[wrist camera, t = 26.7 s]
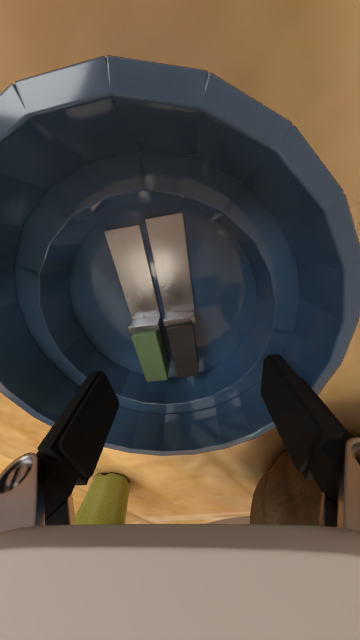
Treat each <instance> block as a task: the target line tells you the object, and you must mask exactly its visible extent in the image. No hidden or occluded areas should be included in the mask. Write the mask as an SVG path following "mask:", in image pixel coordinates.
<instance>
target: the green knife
mask: <svg viewBox="0 0 360 640" xmlns="http://www.w3.org/2000/svg"><path fill="white" fill-rule="evenodd" d="M104 233H105V236H106V239H107V242H108V245H109V249H110V252H111V255H112V258H113V261H114V264H115V267H116V270H117V273H118V277H119V280H120V283H121V286H122V289H123V292H124V295H125V298H126V302H127V305H128V308H129V311H130V314H131V317H132V322H131V323H130V325H129V326H128V330H129V333H133V334H132V335H131V338H132V341H133V343H134V346H135V349H136V352H137V355H138V358H139V361H140V364H141V367H142V370H143V373H144V376H145V379H146V381H147V382H150V381H161V380H168V374H169V365H170V364H169V360H168V356H167V352H166V347H165V343H164V339H163V335H162V330H161V326H160V325H161V322H162V319H161V314H160V310H159V305H158V301H157V296H156V292H155V288H154V283H153V279H152V274H151V270H150V266H149V261H148V257H147V252H146V248H145V244H144V239H143V235H142V230H141V226H140V225H135V226H129V227H124V228H118V229H113V230H107V231H104Z"/></svg>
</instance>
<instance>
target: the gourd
mask: <svg viewBox="0 0 360 640" xmlns="http://www.w3.org/2000/svg"><path fill="white" fill-rule="evenodd" d="M321 497H322V492H321V491H320V489H319V487H318V485H317V483H316V481H315V480H314V479H307V480H305V478H304V476H303V474H302V472H301V471H298V470H297V469H296V467H295V466H294V464H293V461H292V459H291V457H290V455H289V453H288V451H285V452H283V453H282V454H281V455H280V456H279V457H278V458H277V460H276V462H275V464H274V466H272V467H271V468H270V469H269V470H268V471H267V472H266V473H265V474H264V475H263V477H262V478H261V479H260V481H259V483H258V485H257V487H256V489H255V491H254V494H253V500H252V507H251V513H250V524H261V525H308V526H318V525H319V516H320V506H321Z"/></svg>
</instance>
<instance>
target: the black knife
mask: <svg viewBox="0 0 360 640" xmlns="http://www.w3.org/2000/svg"><path fill="white" fill-rule="evenodd" d="M145 222H146V226H147V231H148V236H149V241H150V245H151V250H152V255H153V260H154V264H155V269H156V274H157V278H158V283H159V288H160V293H161V297H162V302H163V307H164V312H165V315H164V319H163V322H164V326H167V333H168V338H169V342H170V347H171V352H172V356H173V361H174V366H175V370H176V375H177V377H187V376H198V375H199V365H198V356H197V348H196V340H195V333H194V325H193V323H195V322H196V319H195V311H194V303H193V294H192V286H191V277H190V269H189V260H188V252H187V244H186V235H185V227H184V218H183V212H182V213H176V214H171V215H165V216H160V217H154V218H149V219H145Z"/></svg>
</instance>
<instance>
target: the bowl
mask: <svg viewBox="0 0 360 640" xmlns="http://www.w3.org/2000/svg"><path fill="white" fill-rule="evenodd" d="M343 192H344V191H343V189H342V188H341V187H340V185H339V184H338V183H337V181H336V180H335V179H334V177H333V176H332V175H331V173H330V172H329V171H328V169H327V168H326V166H325V165H324V164H323V162H322V161H321V160H320V158H319V157H318V156H317V154H316V153H315V152H314V150H313V149H312V148H311V146H310V145H309V144H308V142H307V141H306V140H305V138H304V137H303V136H302V134H301V133H300V132H299V130H298V129H297V127H296V126H294V125H293V126H292V122H290V121H289V120H287V119H286V118H284V117H282V116H281V115H279V114H277V113H276V112H274V111H273V110H271V109H269V108H268V107H266V106H265V105H263V104H261V103H260V102H258V101H256V100H255V99H253V98H252V97H250V96H248V95H247V94H245V93H243V92H242V91H240V90H239V89H237V88H235V87H234V86H232V85H230V84H229V83H227V82H226V81H224V80H222V79H221V78H219V77H217V76H216V75H214V74H213V73H209V75H208V71H206V70H201V69H194V68H188V67H181V66H175V65H168V64H162V63H155V62H149V61H142V60H136V59H129V58H123V57H116V56H110V55H108V56H107V58H106V57H105V56H101V57H98V58H94V59H91V60H87V61H84V62H80V63H77V64H73V65H70V66H67V67H63V68H60V69H56V70H53V71H49V72H46V73H42V74H39V75H35V76H32V77H29V78H25V79H22V80H18V81H15V85H14V84H11V85H10V86H9V87H8V88H6V89H5V90H4V91H3V92H2V93H1V94H0V392H1V393H2V394H3V395H5V396H6V397H7V398H9V399H10V400H11V401H13V402H14V403H15V404H17V405H18V406H19V407H21V408H22V409H23V410H25V411H26V412H27V413H29V414H30V415H31V416H33V417H34V418H36V419H38V420H40V421H42V422H44V423H46V424H48V425H50V426H51V427H53V425H54V424H55V422H56V421H57V419H58V418H59V417H60V415H61V414H62V412H63V411H64V409H65V408H66V406H67V405H68V404H69V402H70V401H71V399H72V398H73V396H74V395H75V394H76V392H77V391H78V389H79V388H80V386H81V385H82V384H83V382H84V381H85V379H86V378H87V376H88V375H89V374H90V372H93V371H103V373H105V374H106V376H107V378H108V380H109V382H110V384H111V386H112V388H113V390H114V392H115V394H116V396H117V398H118V400H119V408H118V411H117V414H116V416H115V419H114V421H113V424H112V426H111V429H110V432H109V434H108V437H107V439H106V442H105V445H104V447H106V448H110V449H115V450H119V451H124V452H128V453H137V454H148V455H159V456H169V455H193V454H199V453H204V452H210V451H215V450H221V449H225V448H229V447H232V446H235V445H237V444H240V443H243V442H246V441H249V440H252V439H255V438H256V437H259V436H261V435H263V434H265V433H266V432H268V431H270V430H272V429H274V428H276V426H275V424H274V422H273V419H272V417H271V415H270V413H269V411H268V409H267V407H266V405H265V403H264V401H263V398H262V396H261V392H260V390H261V381H262V372H263V363H264V358H267V355H271V354H280V355H281V356H282V357H283V358H284V360H285V361H286V362H287V363H288V364H289V366H290V367H291V368H292V369H293V371H294V372H295V373H296V374H297V376H298V377H300V378H303V379H304V380H305V381H306V382H307V383H308V384H309V386H310V387H311V388H312V389H313V390H314V392H315V393H316V394H317V395H318V394H319V393H320V391H321V390H322V389H323V387H324V386H325V385H326V383H327V382H328V381H329V379H330V378H331V377H332V375H333V374H334V373H335V371H336V370H337V369H338V367H339V366H340V365H341V362H343V359H344V357H345V354H346V352H347V349H348V347H349V344H350V341H351V339H352V336H353V334H354V331H355V329H356V326H357V324H358V321H359V317H360V245H359V241H358V238H357V234H356V230H355V227H354V223H353V220H352V216H351V213H350V209H349V206H348V202H347V198H346V195H345V194H343ZM182 212H183V218H184V227H185V235H186V244H187V252H188V260H189V269H190V277H191V286H192V294H193V303H194V311H195V319H196V322H195V323H193V325H194V333H195V340H196V348H197V356H198V365H199V375H198V376H187V377H177V375H176V370H175V366H174V361H173V356H172V352H171V347H170V342H169V338H168V333H167V326H164V322H163V319H164V315H165V312H164V307H163V302H162V297H161V293H160V288H159V283H158V278H157V274H156V269H155V264H154V260H153V255H152V250H151V245H150V241H149V236H148V231H147V226H146V222H145V219H149V218H154V217H160V216H165V215H171V214H176V213H182ZM135 225H140V226H141V230H142V235H143V239H144V244H145V248H146V252H147V257H148V261H149V266H150V270H151V274H152V279H153V283H154V288H155V292H156V296H157V301H158V305H159V310H160V314H161V319H162V322H161V325H160V326H161V330H162V335H163V339H164V343H165V347H166V352H167V356H168V360H169V364H170V365H169V374H168V380H161V381H150V382H147V381H146V379H145V376H144V373H143V370H142V367H141V364H140V361H139V358H138V355H137V352H136V349H135V346H134V343H133V341H132V338H131V335H132V334H133V333H129V330H128V326H129V325H130V323H131V322H132V317H131V314H130V311H129V308H128V305H127V302H126V298H125V295H124V292H123V289H122V286H121V283H120V280H119V277H118V273H117V270H116V267H115V264H114V261H113V258H112V255H111V252H110V249H109V245H108V242H107V239H106V236H105V233H104V231H107V230H113V229H118V228H124V227H129V226H135Z"/></svg>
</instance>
